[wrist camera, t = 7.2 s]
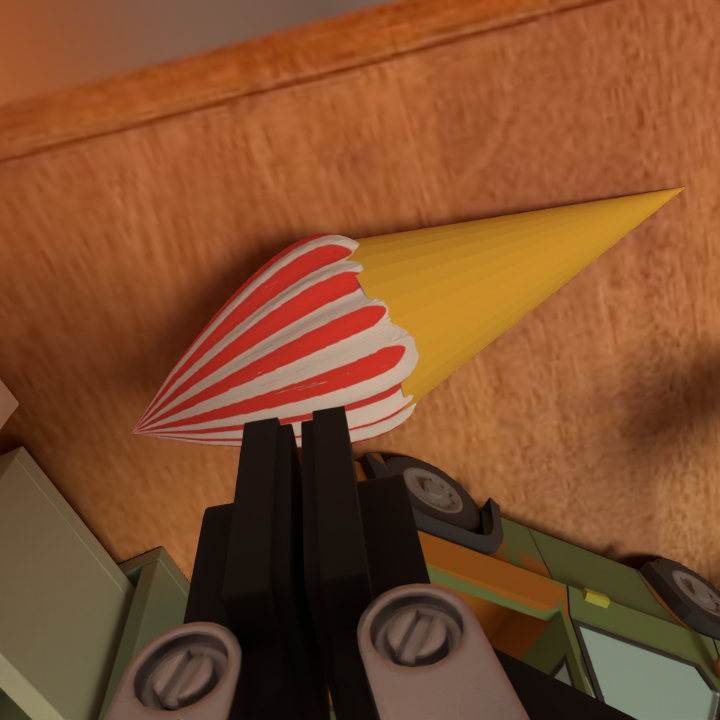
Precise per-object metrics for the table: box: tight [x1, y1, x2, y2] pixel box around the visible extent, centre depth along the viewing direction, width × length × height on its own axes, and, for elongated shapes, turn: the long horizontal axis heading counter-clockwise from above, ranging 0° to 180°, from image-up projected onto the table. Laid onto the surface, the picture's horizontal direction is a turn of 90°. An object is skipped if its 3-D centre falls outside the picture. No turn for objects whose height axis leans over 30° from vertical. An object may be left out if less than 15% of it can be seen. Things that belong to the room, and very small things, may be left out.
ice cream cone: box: [131, 187, 685, 448], centre depth 22 cm, size 6×6×20 cm
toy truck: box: [329, 453, 720, 720], centre depth 26 cm, size 11×21×10 cm, turn 63°
